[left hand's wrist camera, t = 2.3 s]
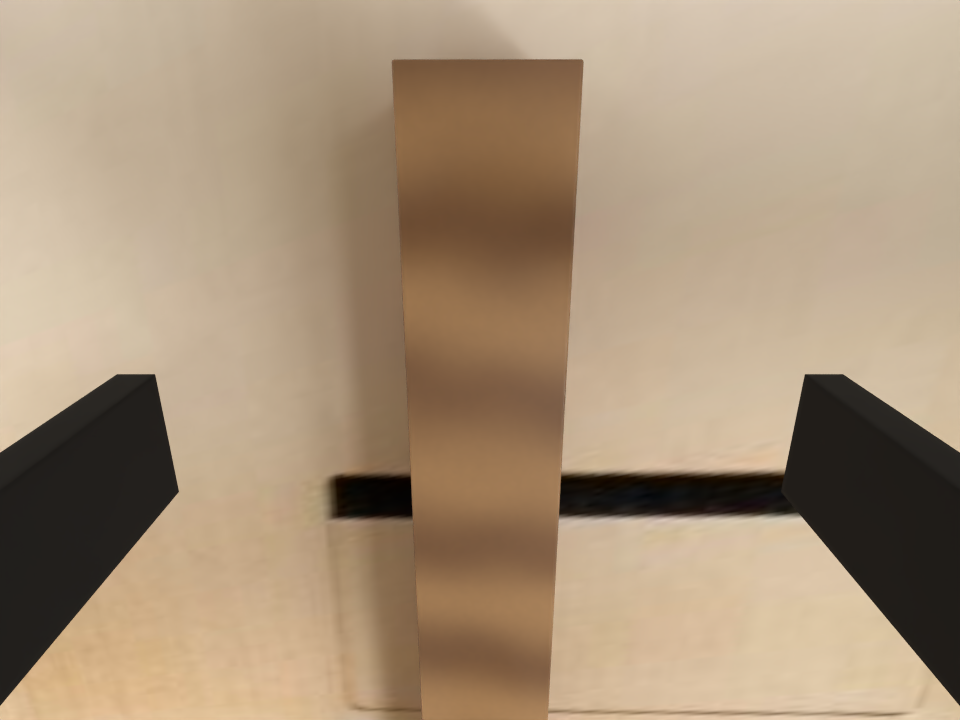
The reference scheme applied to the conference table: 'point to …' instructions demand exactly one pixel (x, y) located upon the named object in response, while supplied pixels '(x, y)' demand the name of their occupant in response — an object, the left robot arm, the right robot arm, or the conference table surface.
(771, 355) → the conference table surface
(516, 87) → the beam
